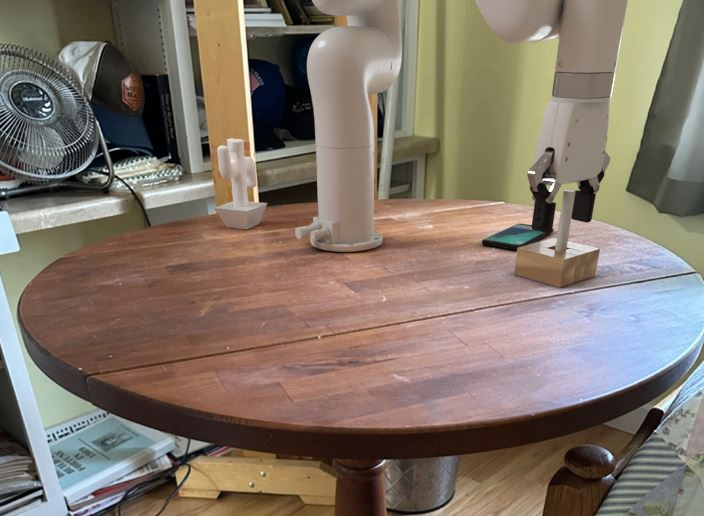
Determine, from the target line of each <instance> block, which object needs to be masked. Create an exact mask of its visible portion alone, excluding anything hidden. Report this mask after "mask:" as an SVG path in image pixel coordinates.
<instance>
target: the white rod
mask: <svg viewBox="0 0 704 516" xmlns="http://www.w3.org/2000/svg"><path fill="white" fill-rule="evenodd" d="M575 191H576V190H575V189H570V188H569V189H563V191H562V199H561V206H560V214H559V221H558V225H557V232H556V246H555V250H556V251H560V252H561V251H564V250H566V249H567V242H568V241H569V235H570V229H571V224H572V223H571V222H572V219H571V217H572V211H573V204H574V198H575Z"/></svg>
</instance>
